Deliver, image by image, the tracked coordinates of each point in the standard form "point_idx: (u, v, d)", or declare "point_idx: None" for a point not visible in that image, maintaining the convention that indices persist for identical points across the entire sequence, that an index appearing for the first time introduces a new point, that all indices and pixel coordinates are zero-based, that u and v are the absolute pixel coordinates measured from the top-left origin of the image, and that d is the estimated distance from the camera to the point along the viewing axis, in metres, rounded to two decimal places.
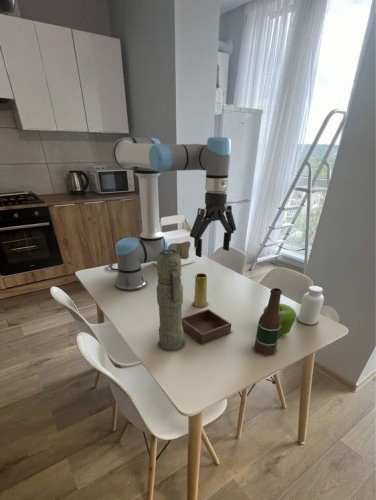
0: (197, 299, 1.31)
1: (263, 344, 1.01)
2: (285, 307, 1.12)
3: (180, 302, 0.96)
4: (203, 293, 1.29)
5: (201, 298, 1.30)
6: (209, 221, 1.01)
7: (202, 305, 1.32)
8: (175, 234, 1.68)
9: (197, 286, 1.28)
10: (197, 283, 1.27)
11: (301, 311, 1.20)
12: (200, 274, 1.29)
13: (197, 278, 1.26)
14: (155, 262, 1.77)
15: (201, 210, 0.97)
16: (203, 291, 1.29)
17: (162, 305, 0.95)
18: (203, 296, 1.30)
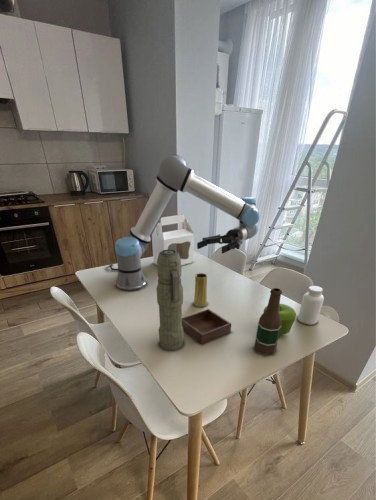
0: (197, 299, 1.31)
1: (263, 344, 1.01)
2: (285, 307, 1.12)
3: (180, 302, 0.96)
4: (203, 293, 1.29)
5: (201, 298, 1.30)
6: None
7: (202, 305, 1.32)
8: (175, 234, 1.68)
9: (197, 286, 1.28)
10: (197, 283, 1.27)
11: (301, 311, 1.20)
12: (200, 274, 1.29)
13: (197, 278, 1.26)
14: (155, 262, 1.77)
15: None
16: (203, 291, 1.29)
17: (162, 305, 0.95)
18: (203, 296, 1.30)
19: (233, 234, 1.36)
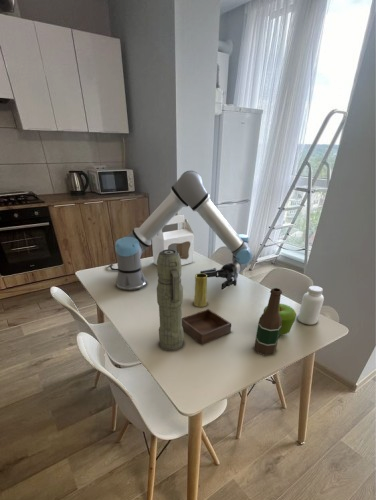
0: (197, 299, 1.31)
1: (263, 344, 1.01)
2: (285, 307, 1.12)
3: (180, 302, 0.96)
4: (203, 293, 1.29)
5: (201, 298, 1.30)
6: (228, 279, 1.44)
7: (202, 305, 1.32)
8: (175, 234, 1.68)
9: (197, 286, 1.28)
10: (197, 283, 1.27)
11: (301, 311, 1.20)
12: (200, 274, 1.29)
13: (197, 278, 1.26)
14: (155, 262, 1.77)
15: None
16: (203, 291, 1.29)
17: (162, 305, 0.95)
18: (203, 296, 1.30)
19: (228, 269, 1.46)
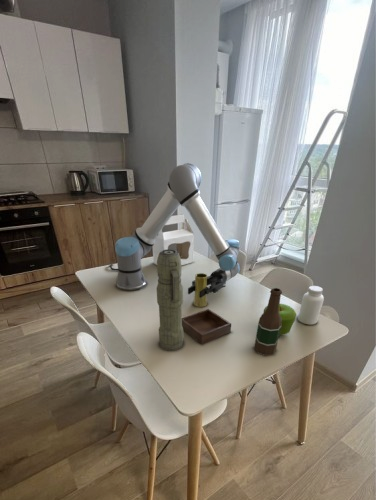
0: (197, 299, 1.31)
1: (263, 344, 1.01)
2: (285, 307, 1.12)
3: (180, 302, 0.96)
4: None
5: (201, 298, 1.30)
6: None
7: (202, 305, 1.32)
8: (175, 234, 1.68)
9: (197, 286, 1.28)
10: (197, 283, 1.27)
11: (301, 311, 1.20)
12: (200, 274, 1.29)
13: (197, 278, 1.26)
14: (155, 262, 1.77)
15: (225, 285, 1.36)
16: None
17: (162, 305, 0.95)
18: (203, 296, 1.30)
19: (218, 276, 1.39)
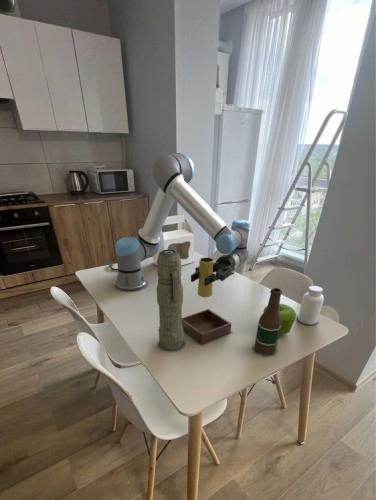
0: (201, 288, 1.12)
1: (263, 344, 1.01)
2: (285, 307, 1.12)
3: (180, 302, 0.96)
4: None
5: (206, 287, 1.11)
6: None
7: (207, 295, 1.13)
8: (175, 234, 1.68)
9: (202, 272, 1.09)
10: (202, 269, 1.08)
11: (301, 311, 1.20)
12: (205, 258, 1.10)
13: (202, 263, 1.07)
14: (155, 262, 1.77)
15: (233, 272, 1.17)
16: None
17: (162, 305, 0.95)
18: (209, 284, 1.11)
19: (225, 262, 1.20)
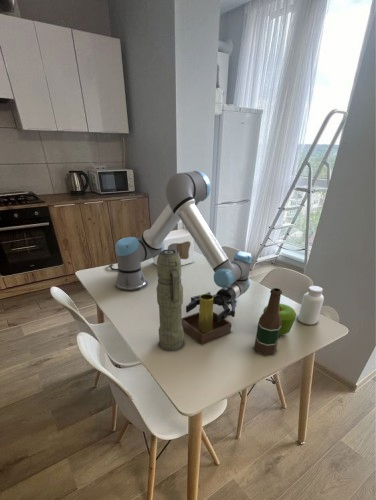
0: (202, 324, 1.12)
1: (263, 344, 1.01)
2: (285, 307, 1.12)
3: (180, 302, 0.96)
4: (209, 317, 1.11)
5: (206, 323, 1.11)
6: None
7: (208, 330, 1.13)
8: (175, 234, 1.68)
9: (202, 309, 1.09)
10: (202, 306, 1.08)
11: (301, 311, 1.20)
12: (205, 295, 1.10)
13: (202, 300, 1.07)
14: (155, 262, 1.77)
15: None
16: (209, 314, 1.10)
17: (162, 305, 0.95)
18: (209, 320, 1.11)
19: (225, 294, 1.20)
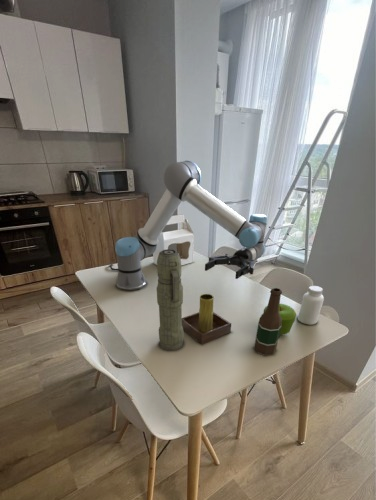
0: (202, 324, 1.12)
1: (263, 344, 1.01)
2: (285, 307, 1.12)
3: (180, 302, 0.96)
4: (209, 317, 1.11)
5: (206, 323, 1.11)
6: (242, 267, 1.19)
7: (208, 330, 1.13)
8: (175, 234, 1.68)
9: (202, 309, 1.09)
10: (202, 306, 1.08)
11: (301, 311, 1.20)
12: (205, 295, 1.10)
13: (202, 300, 1.07)
14: (155, 262, 1.77)
15: (253, 265, 1.19)
16: (209, 314, 1.10)
17: (162, 305, 0.95)
18: (209, 320, 1.11)
19: (243, 255, 1.21)
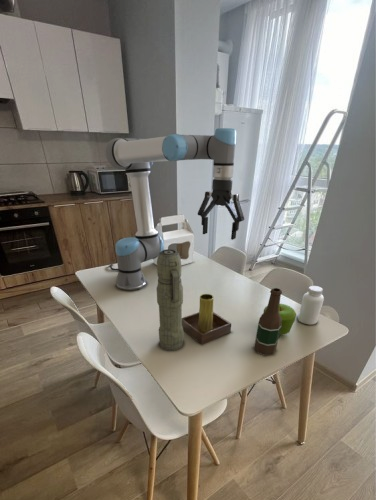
0: (202, 324, 1.12)
1: (263, 344, 1.01)
2: (285, 307, 1.12)
3: (180, 302, 0.96)
4: (209, 317, 1.11)
5: (206, 323, 1.11)
6: (211, 204, 1.14)
7: (208, 330, 1.13)
8: (175, 234, 1.68)
9: (202, 309, 1.09)
10: (202, 306, 1.08)
11: (301, 311, 1.20)
12: (205, 295, 1.10)
13: (202, 300, 1.07)
14: (155, 262, 1.77)
15: None
16: (209, 314, 1.10)
17: (162, 305, 0.95)
18: (209, 320, 1.11)
19: None
